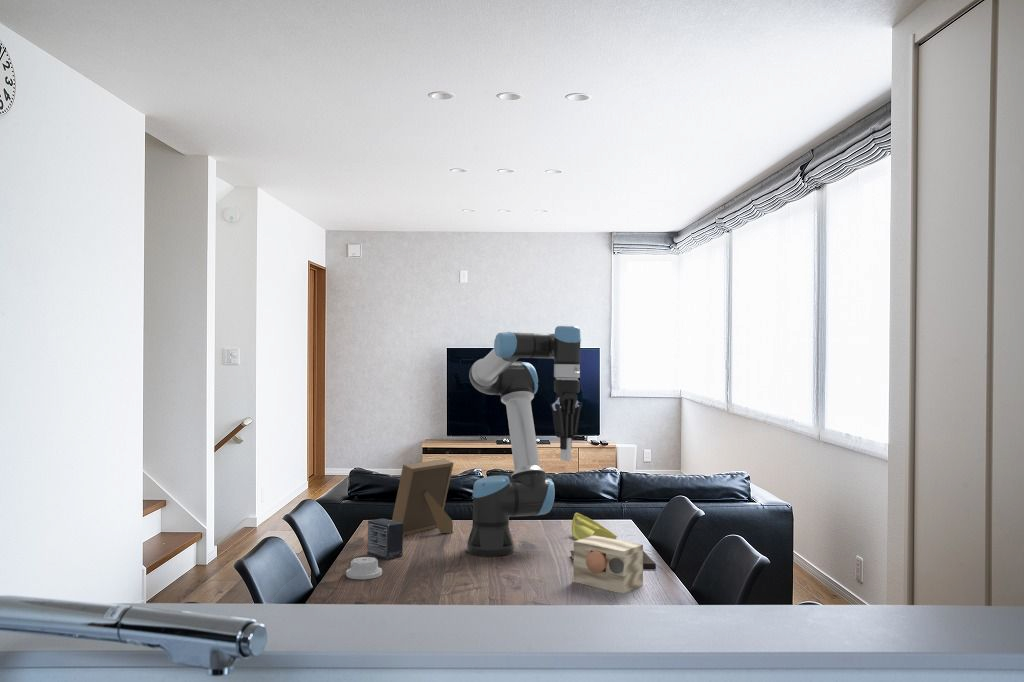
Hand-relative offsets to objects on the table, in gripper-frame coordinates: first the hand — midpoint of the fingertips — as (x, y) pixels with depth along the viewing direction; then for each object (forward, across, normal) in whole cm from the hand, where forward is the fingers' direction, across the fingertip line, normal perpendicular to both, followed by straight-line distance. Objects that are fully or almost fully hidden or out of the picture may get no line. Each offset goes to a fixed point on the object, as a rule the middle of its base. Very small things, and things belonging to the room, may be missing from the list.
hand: (565, 460), depth 213 cm
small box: (+33, -23, +52) cm, 66 cm away
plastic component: (+33, +40, +17) cm, 54 cm away
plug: (+28, -2, -16) cm, 32 cm away
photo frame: (+33, +7, +65) cm, 73 cm away
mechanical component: (+33, -41, +40) cm, 66 cm away
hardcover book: (+33, +18, -5) cm, 38 cm away
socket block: (+32, -1, -16) cm, 36 cm away
